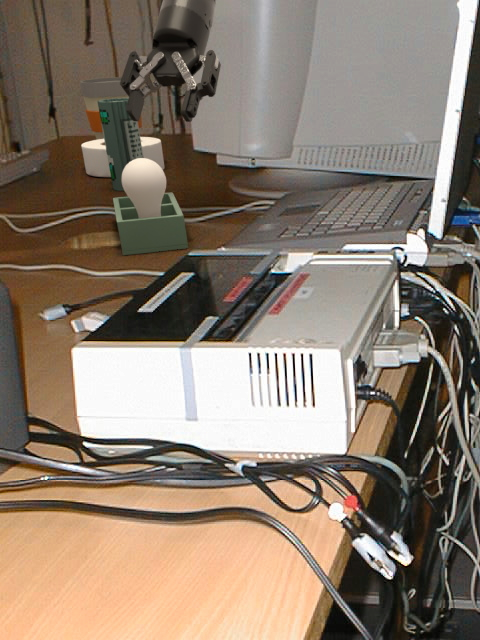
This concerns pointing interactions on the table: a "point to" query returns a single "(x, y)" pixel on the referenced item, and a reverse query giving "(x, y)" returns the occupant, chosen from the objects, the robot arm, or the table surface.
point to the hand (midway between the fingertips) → (159, 117)
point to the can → (119, 137)
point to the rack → (150, 227)
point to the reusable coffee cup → (100, 91)
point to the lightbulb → (144, 186)
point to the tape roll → (98, 157)
